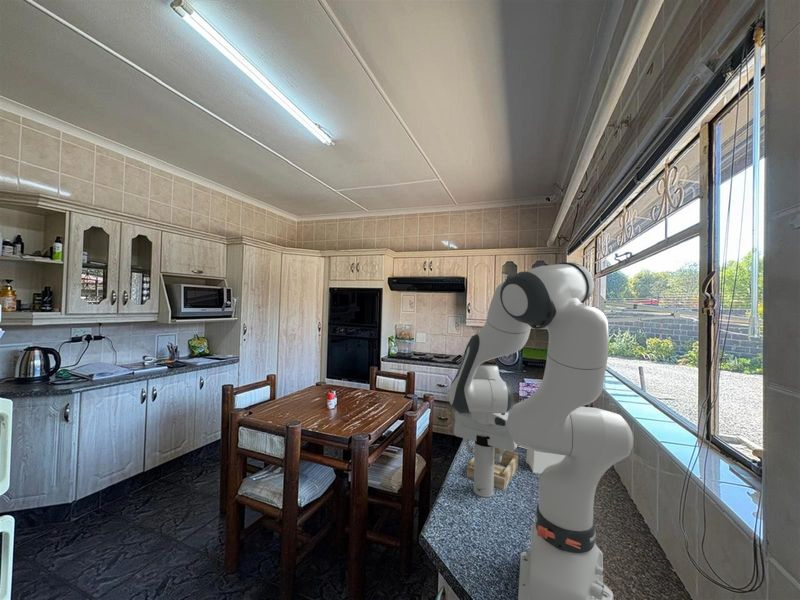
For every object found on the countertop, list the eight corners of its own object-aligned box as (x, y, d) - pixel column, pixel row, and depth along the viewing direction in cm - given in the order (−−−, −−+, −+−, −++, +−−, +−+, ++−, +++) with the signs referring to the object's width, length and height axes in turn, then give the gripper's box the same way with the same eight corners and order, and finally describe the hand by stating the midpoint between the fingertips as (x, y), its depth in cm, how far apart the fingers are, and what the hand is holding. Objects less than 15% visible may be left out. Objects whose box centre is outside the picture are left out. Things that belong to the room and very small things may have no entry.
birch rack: (504, 494, 104) (504, 472, 104) (466, 481, 111) (467, 460, 111) (517, 471, 119) (518, 452, 119) (484, 461, 126) (484, 443, 126)
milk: (558, 464, 125) (559, 398, 125) (568, 480, 113) (569, 407, 114) (526, 461, 127) (527, 396, 127) (532, 476, 116) (534, 405, 116)
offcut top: (498, 479, 106) (499, 473, 107) (473, 471, 112) (473, 465, 112) (503, 473, 110) (503, 467, 111) (478, 465, 116) (478, 460, 116)
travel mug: (479, 502, 98) (481, 437, 99) (470, 490, 105) (471, 429, 105) (497, 499, 100) (499, 436, 100) (487, 488, 106) (488, 428, 106)
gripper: (451, 409, 106) (450, 450, 105) (514, 423, 94) (513, 470, 94) (458, 404, 111) (458, 444, 110) (519, 417, 99) (518, 461, 99)
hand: (483, 456), depth 102 cm, fingers open, 8 cm apart
